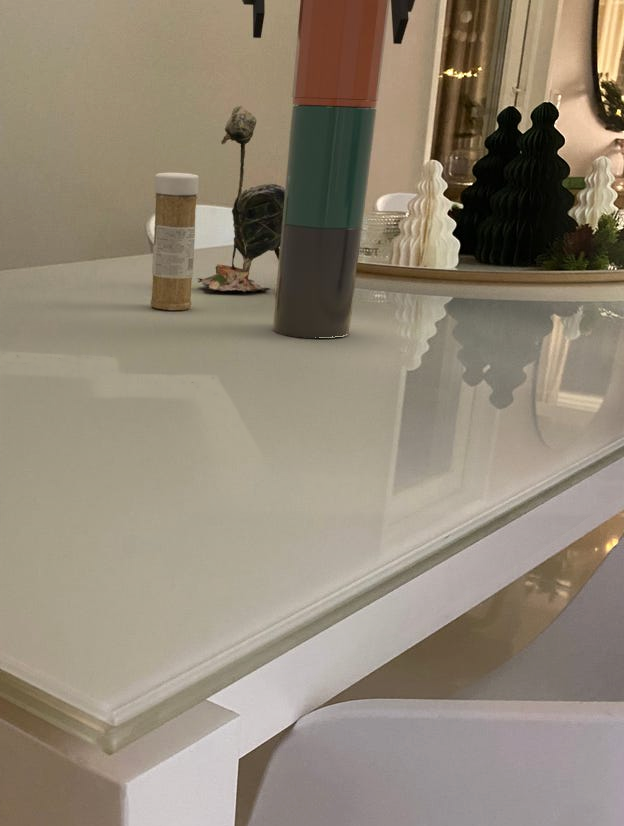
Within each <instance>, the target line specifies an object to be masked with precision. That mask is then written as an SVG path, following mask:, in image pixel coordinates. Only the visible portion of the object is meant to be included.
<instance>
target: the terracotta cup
mask: <svg viewBox="0 0 624 826" xmlns="http://www.w3.org/2000/svg"><path fill="white" fill-rule="evenodd" d="M390 4H391V0H300V3H299V14H298V15H299V16H298V24H297V25H298V26H297V36H296V37H297V38H296V46H295V47H296V49H295V60H294V70H293V81H292V94H291V98H292V100H291V101H292V103H291V105H292V106H298V105H314V106H342V107H364V108H372V109H377V104H378V103H377V102H378V101H379V92H380V85H381V84H380V83H381V76H382V67H383V61H384V50H385V42H386V37H387V36H386V34H387V28H388V27H387V26H388V18H389V10H390Z"/></svg>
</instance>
